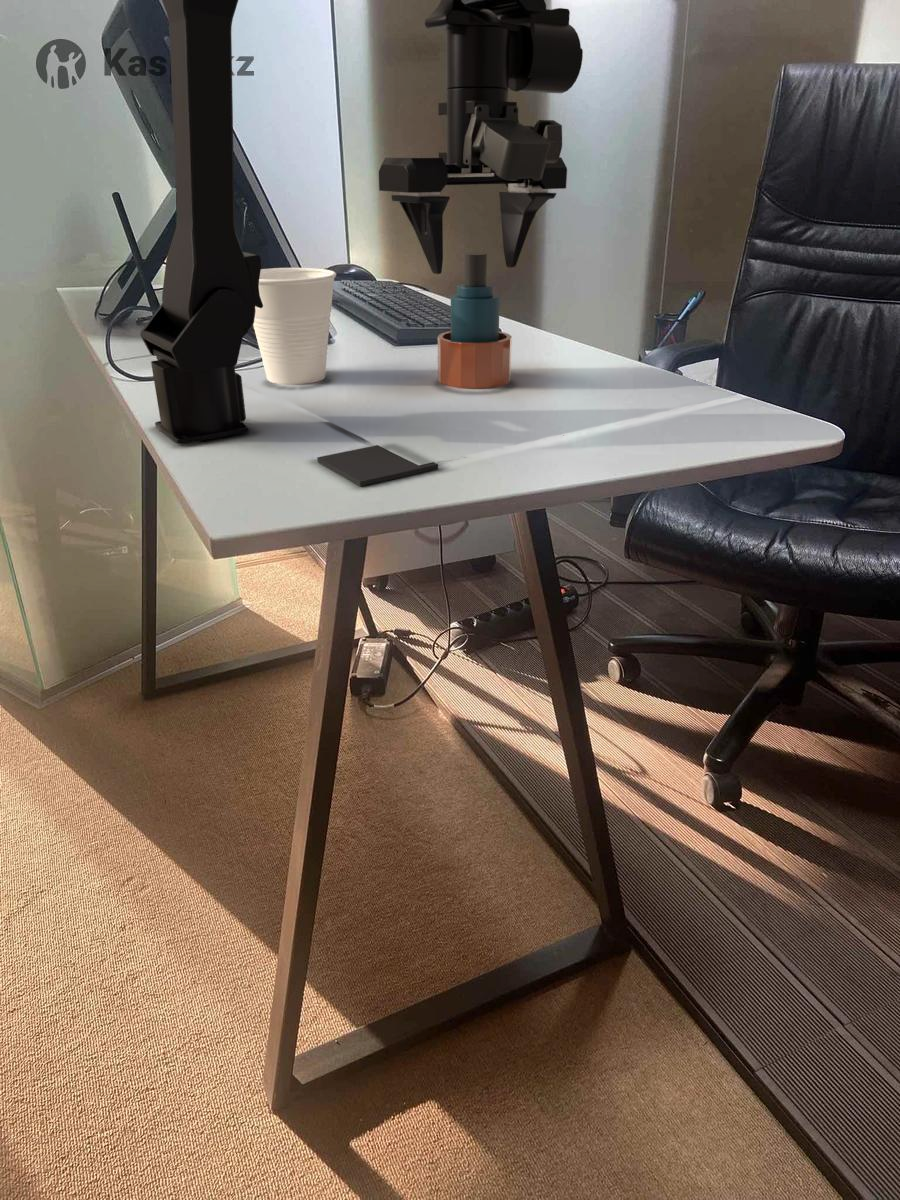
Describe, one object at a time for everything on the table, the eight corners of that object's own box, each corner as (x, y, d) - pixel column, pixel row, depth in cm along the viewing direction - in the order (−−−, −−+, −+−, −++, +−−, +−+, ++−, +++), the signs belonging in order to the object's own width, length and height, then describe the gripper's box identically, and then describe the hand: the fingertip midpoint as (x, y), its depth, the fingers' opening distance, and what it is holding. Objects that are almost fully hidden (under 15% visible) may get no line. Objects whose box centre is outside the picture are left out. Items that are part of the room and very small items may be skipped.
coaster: (360, 486, 64) (360, 481, 63) (317, 461, 69) (316, 457, 68) (438, 468, 67) (438, 464, 67) (391, 446, 72) (391, 442, 72)
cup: (295, 398, 86) (285, 282, 81) (230, 383, 92) (217, 274, 86) (361, 379, 93) (356, 272, 88) (297, 367, 99) (289, 265, 93)
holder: (466, 397, 87) (466, 346, 84) (424, 382, 92) (424, 334, 90) (524, 386, 90) (526, 337, 88) (481, 372, 96) (482, 326, 94)
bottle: (468, 387, 88) (470, 257, 82) (441, 378, 92) (440, 253, 86) (507, 381, 91) (510, 254, 85) (479, 372, 94) (480, 250, 88)
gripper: (443, 80, 68) (443, 287, 75) (612, 89, 78) (598, 272, 85) (372, 87, 76) (379, 274, 83) (533, 95, 86) (527, 261, 93)
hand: (474, 270), depth 86 cm, fingers open, 9 cm apart
